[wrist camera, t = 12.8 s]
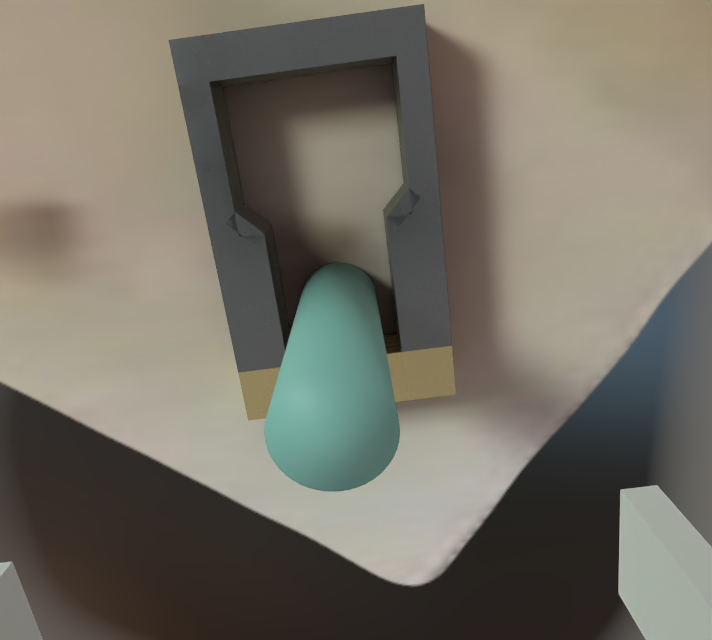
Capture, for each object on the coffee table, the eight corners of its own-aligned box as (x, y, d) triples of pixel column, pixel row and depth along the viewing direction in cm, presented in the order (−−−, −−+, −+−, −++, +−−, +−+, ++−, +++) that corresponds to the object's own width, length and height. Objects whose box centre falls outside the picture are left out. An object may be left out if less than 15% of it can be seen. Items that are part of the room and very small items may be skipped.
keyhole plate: (186, 49, 29) (168, 40, 27) (416, 16, 29) (423, 3, 26) (256, 397, 36) (248, 420, 33) (447, 373, 35) (456, 394, 32)
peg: (296, 267, 33) (253, 380, 18) (371, 257, 33) (392, 362, 18) (307, 338, 34) (277, 498, 19) (380, 328, 34) (406, 483, 19)
